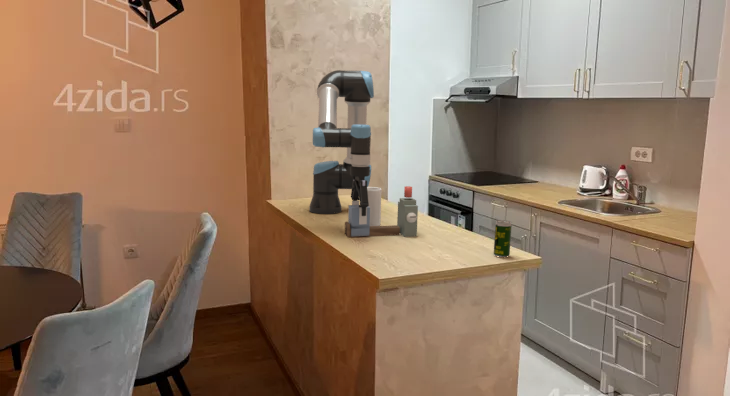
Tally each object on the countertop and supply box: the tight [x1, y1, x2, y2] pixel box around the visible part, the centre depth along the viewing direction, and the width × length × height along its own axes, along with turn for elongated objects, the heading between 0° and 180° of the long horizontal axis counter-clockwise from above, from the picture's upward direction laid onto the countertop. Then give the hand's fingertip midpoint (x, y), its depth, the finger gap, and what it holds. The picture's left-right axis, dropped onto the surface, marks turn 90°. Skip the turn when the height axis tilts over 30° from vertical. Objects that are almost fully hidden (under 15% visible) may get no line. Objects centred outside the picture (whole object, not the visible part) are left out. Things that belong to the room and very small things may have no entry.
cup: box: [367, 186, 382, 226], centre depth 231 cm, size 8×8×16 cm
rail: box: [344, 221, 401, 238], centre depth 217 cm, size 5×21×5 cm, turn 103°
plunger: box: [403, 185, 413, 198], centre depth 218 cm, size 3×3×4 cm
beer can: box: [493, 219, 512, 258], centre depth 190 cm, size 5×5×12 cm
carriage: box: [347, 204, 370, 237], centre depth 215 cm, size 6×7×11 cm
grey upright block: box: [396, 197, 419, 238], centre depth 219 cm, size 11×5×14 cm, turn 13°
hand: (358, 220), depth 215 cm, fingers open, 13 cm apart
